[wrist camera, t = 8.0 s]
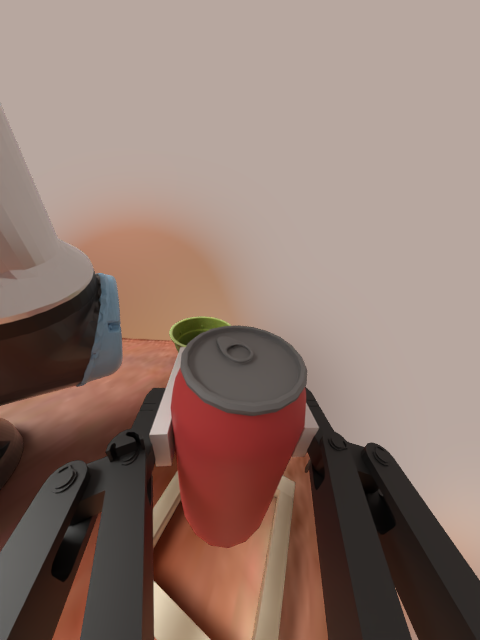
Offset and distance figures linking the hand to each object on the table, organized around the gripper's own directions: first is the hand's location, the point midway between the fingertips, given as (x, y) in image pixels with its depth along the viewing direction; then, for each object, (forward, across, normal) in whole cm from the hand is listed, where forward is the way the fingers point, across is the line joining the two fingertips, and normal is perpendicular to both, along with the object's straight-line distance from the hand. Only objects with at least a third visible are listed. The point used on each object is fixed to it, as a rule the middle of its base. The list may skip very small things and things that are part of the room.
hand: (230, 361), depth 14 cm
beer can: (-5, 0, -7) cm, 9 cm away
